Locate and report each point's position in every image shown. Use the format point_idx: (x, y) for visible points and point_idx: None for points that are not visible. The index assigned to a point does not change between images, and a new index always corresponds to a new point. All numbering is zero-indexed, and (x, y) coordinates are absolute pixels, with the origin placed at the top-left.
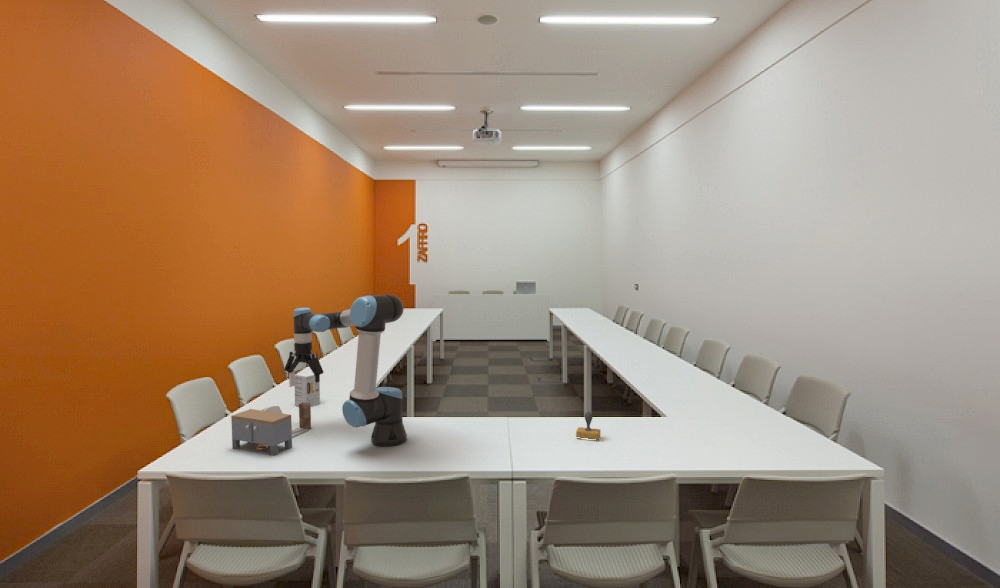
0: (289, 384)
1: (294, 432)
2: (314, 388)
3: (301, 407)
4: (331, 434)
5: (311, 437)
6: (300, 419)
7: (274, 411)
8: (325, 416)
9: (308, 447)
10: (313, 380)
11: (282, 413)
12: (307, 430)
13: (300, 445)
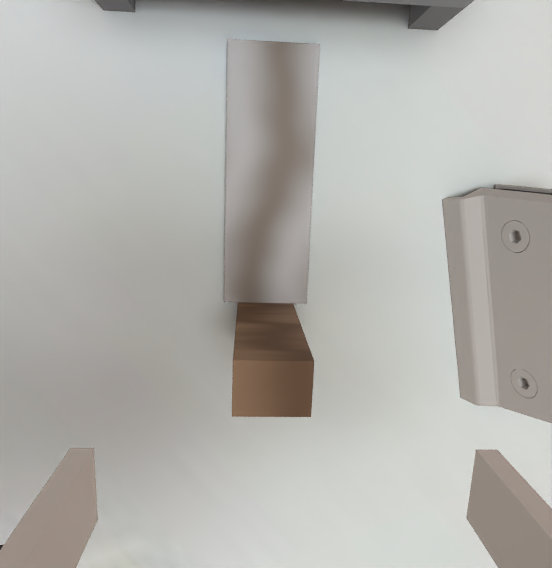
0: (513, 468)
1: (264, 224)
2: (63, 460)
3: (283, 350)
4: (47, 297)
5: (124, 211)
6: (288, 319)
7: (547, 355)
8: (304, 534)
9: (7, 50)
10: (23, 551)
11: (516, 410)
12: (224, 293)
13: (83, 64)
